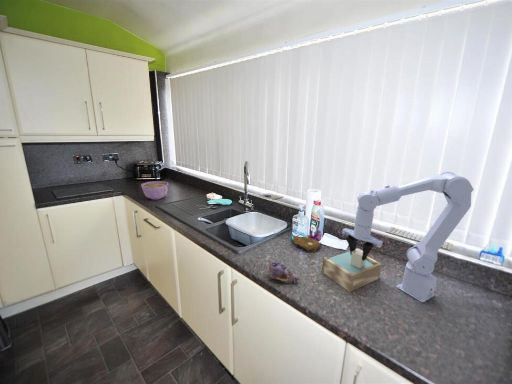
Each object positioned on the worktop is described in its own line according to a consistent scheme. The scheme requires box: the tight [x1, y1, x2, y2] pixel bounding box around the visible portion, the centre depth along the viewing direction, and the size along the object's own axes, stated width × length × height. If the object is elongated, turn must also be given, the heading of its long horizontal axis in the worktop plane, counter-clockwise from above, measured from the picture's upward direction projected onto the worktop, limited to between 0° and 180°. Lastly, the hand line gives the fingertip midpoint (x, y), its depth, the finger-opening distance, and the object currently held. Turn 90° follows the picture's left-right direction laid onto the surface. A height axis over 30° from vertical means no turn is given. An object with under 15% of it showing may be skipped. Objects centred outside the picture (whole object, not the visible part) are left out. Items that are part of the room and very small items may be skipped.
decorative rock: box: [292, 235, 322, 253], centre depth 119 cm, size 11×4×15 cm
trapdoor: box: [329, 250, 373, 274], centre depth 95 cm, size 11×14×1 cm
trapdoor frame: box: [321, 255, 383, 293], centre depth 95 cm, size 14×17×7 cm
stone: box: [350, 247, 366, 269], centre depth 92 cm, size 4×4×6 cm
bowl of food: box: [140, 180, 169, 201], centre depth 187 cm, size 20×20×12 cm
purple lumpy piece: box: [268, 261, 300, 284], centre depth 92 cm, size 12×8×6 cm, turn 58°
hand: (358, 256), depth 92 cm, fingers closed on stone, 4 cm apart
